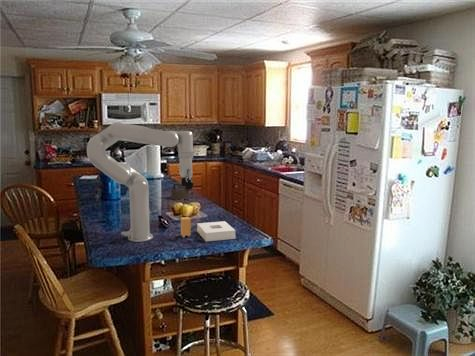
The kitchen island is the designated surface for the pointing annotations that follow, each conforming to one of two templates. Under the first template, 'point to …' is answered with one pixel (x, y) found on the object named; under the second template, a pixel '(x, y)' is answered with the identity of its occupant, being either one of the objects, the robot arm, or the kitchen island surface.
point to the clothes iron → (180, 192)
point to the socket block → (215, 231)
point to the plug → (185, 226)
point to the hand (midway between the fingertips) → (186, 187)
